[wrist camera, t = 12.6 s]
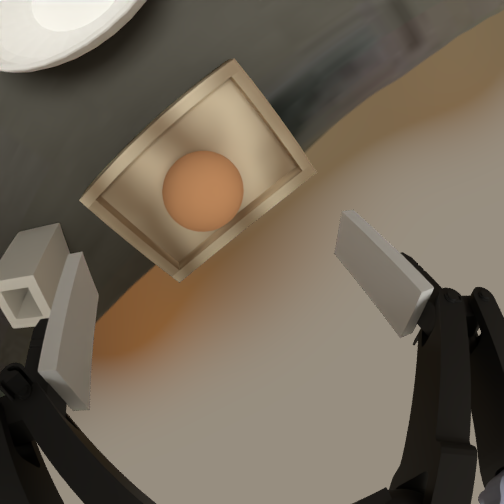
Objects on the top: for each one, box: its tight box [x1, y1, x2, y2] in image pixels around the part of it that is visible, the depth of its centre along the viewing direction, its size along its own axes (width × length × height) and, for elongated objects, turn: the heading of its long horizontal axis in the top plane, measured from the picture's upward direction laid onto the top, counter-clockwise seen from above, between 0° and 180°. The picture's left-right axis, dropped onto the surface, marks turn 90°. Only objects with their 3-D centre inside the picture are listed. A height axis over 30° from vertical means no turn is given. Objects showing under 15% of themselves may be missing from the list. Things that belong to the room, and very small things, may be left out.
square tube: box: [0, 223, 70, 328], centre depth 22 cm, size 5×5×8 cm
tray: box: [79, 59, 317, 283], centre depth 24 cm, size 16×12×2 cm
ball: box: [162, 151, 244, 232], centre depth 22 cm, size 6×6×6 cm
